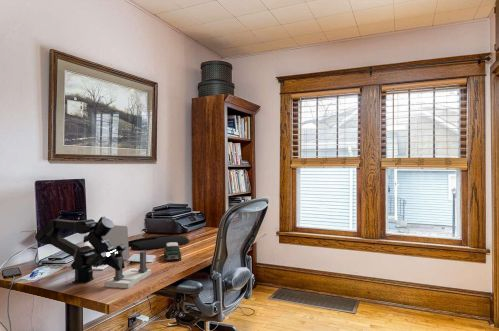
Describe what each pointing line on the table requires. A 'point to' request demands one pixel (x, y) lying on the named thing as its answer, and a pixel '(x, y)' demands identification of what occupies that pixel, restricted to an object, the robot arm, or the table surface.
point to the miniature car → (172, 251)
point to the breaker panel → (128, 278)
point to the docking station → (156, 242)
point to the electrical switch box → (119, 238)
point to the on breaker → (143, 262)
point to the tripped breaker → (119, 273)
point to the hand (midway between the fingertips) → (121, 269)
